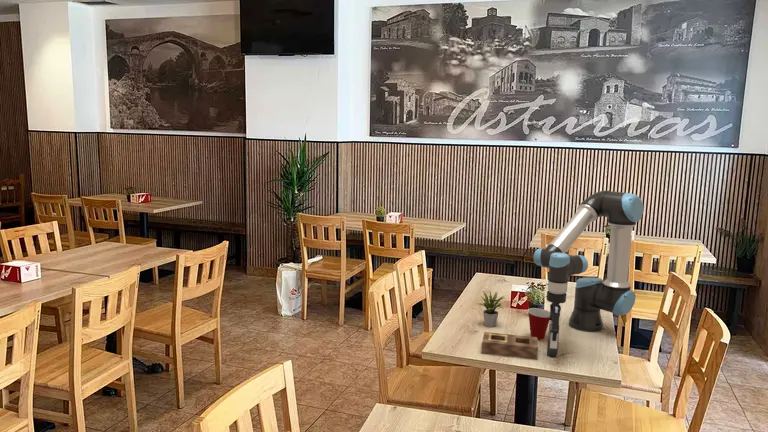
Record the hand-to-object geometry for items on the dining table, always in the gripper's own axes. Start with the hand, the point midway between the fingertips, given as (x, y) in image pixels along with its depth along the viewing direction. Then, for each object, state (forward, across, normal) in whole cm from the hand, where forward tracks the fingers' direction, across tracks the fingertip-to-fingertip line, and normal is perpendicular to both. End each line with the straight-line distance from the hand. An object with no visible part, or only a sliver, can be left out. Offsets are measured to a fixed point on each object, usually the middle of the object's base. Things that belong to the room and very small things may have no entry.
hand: (552, 342), depth 244 cm
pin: (+6, 0, 0) cm, 6 cm away
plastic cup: (+6, -20, -5) cm, 22 cm away
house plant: (+6, -29, -26) cm, 39 cm away
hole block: (+6, 0, -17) cm, 18 cm away
